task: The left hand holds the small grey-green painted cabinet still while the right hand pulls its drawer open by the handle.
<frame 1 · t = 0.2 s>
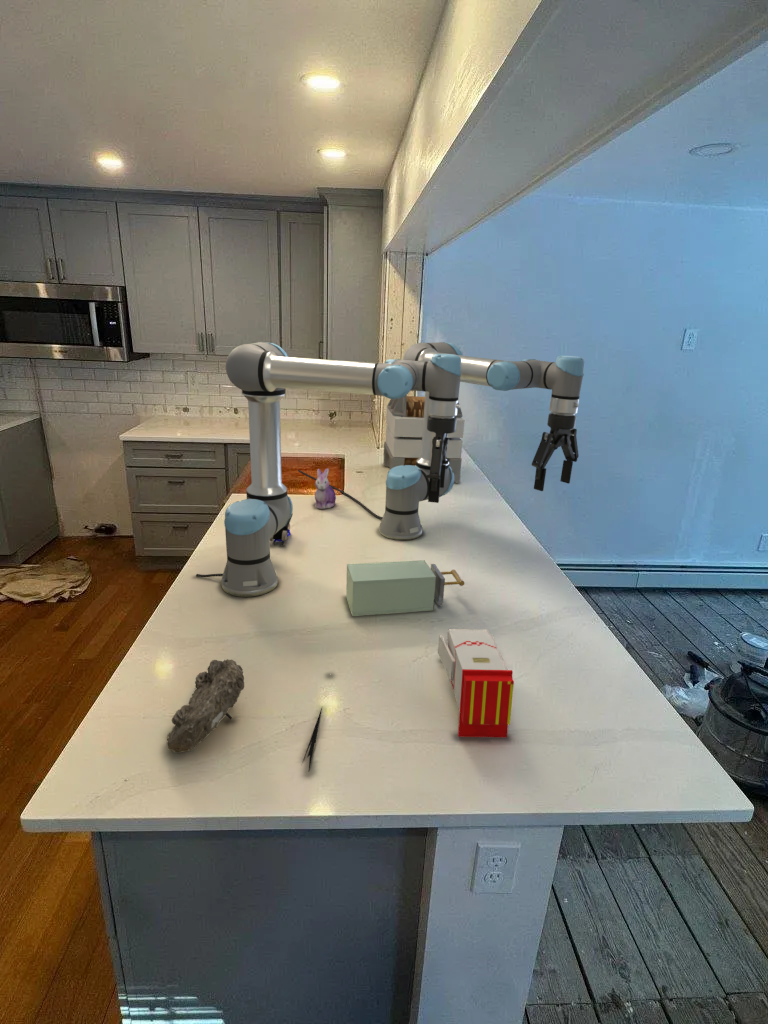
left hand: (436, 494, 154), 28 cm above the counter, tool pointing down, fingers open, 13 cm apart
right hand: (551, 486, 165), 28 cm above the counter, tool pointing down, fingers open, 13 cm apart
figurine: (324, 505, 224), on the counter
fossil: (212, 717, 108), on the counter
feather: (319, 719, 109), on the counter
toy: (469, 691, 119), on the counter
drawer: (413, 585, 152), point 5 cm above the counter, slide at 1.6 cm
transformer: (419, 473, 275), on the counter
cabinet: (388, 603, 152), on the counter
figurine character: (280, 539, 190), on the counter
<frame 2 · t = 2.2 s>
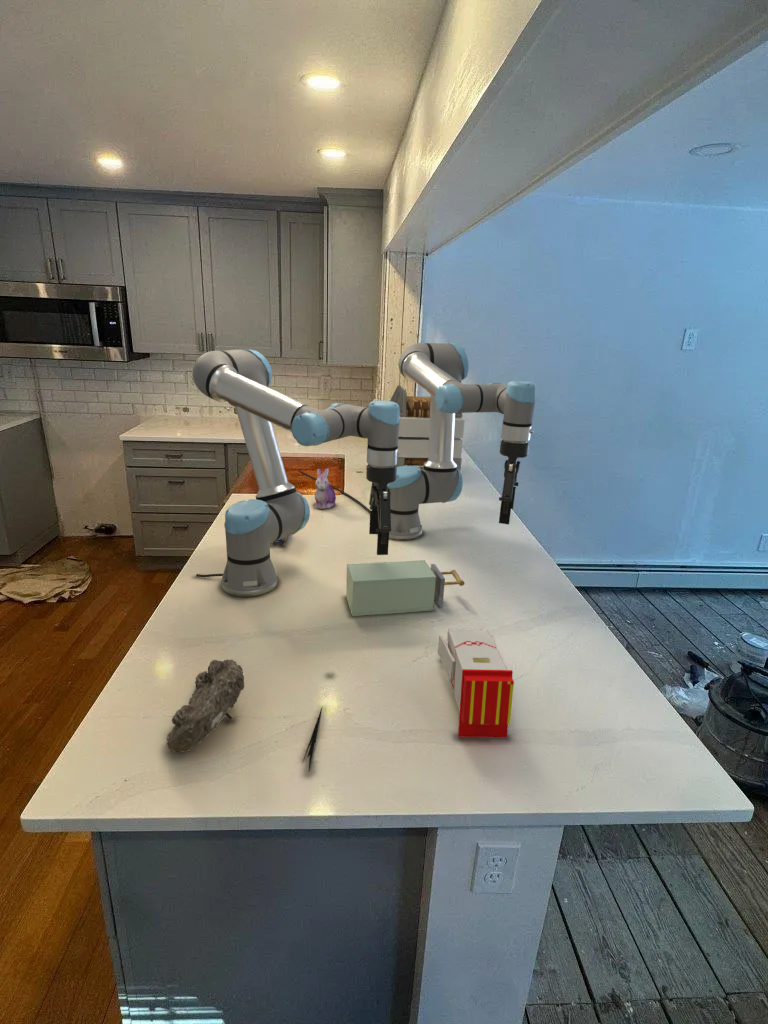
left hand: (378, 543, 148), 17 cm above the counter, tool pointing down, fingers open, 13 cm apart
right hand: (506, 515, 158), 22 cm above the counter, tool pointing down, fingers open, 13 cm apart
nothing on the counter moved.
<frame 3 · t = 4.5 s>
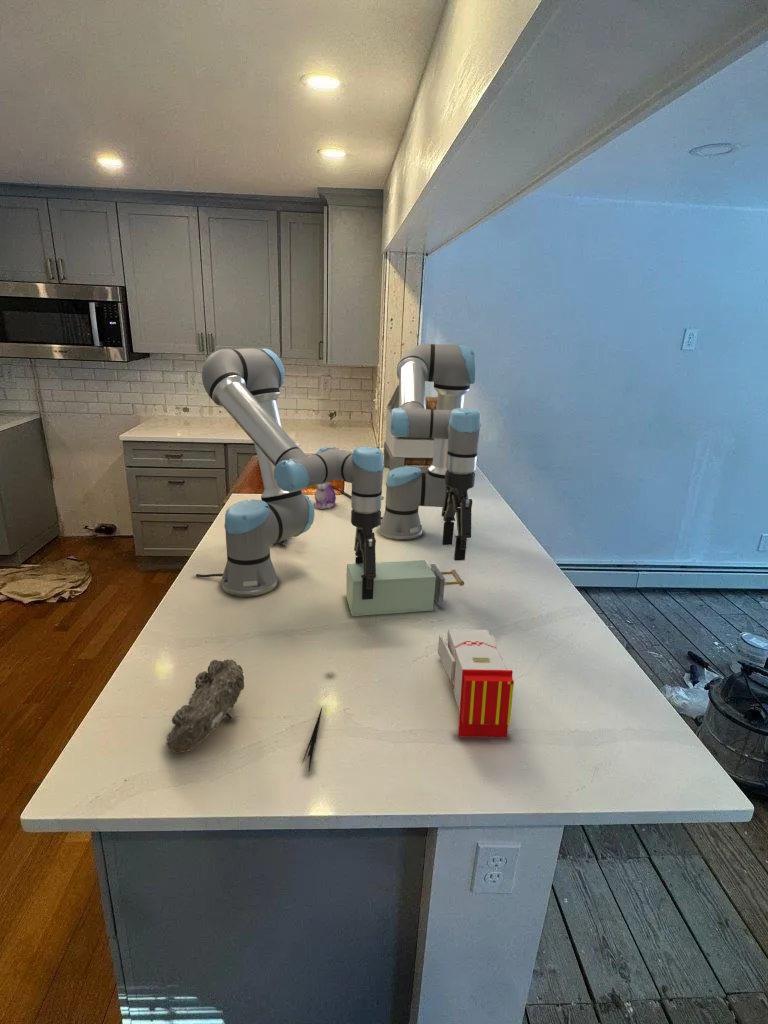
left hand: (363, 588, 149), 5 cm above the counter, tool pointing down, fingers closed on cabinet, 10 cm apart
right hand: (453, 551, 151), 14 cm above the counter, tool pointing down, fingers open, 9 cm apart
cabinet: (388, 603, 152), on the counter, touching left hand
everything else where it was.
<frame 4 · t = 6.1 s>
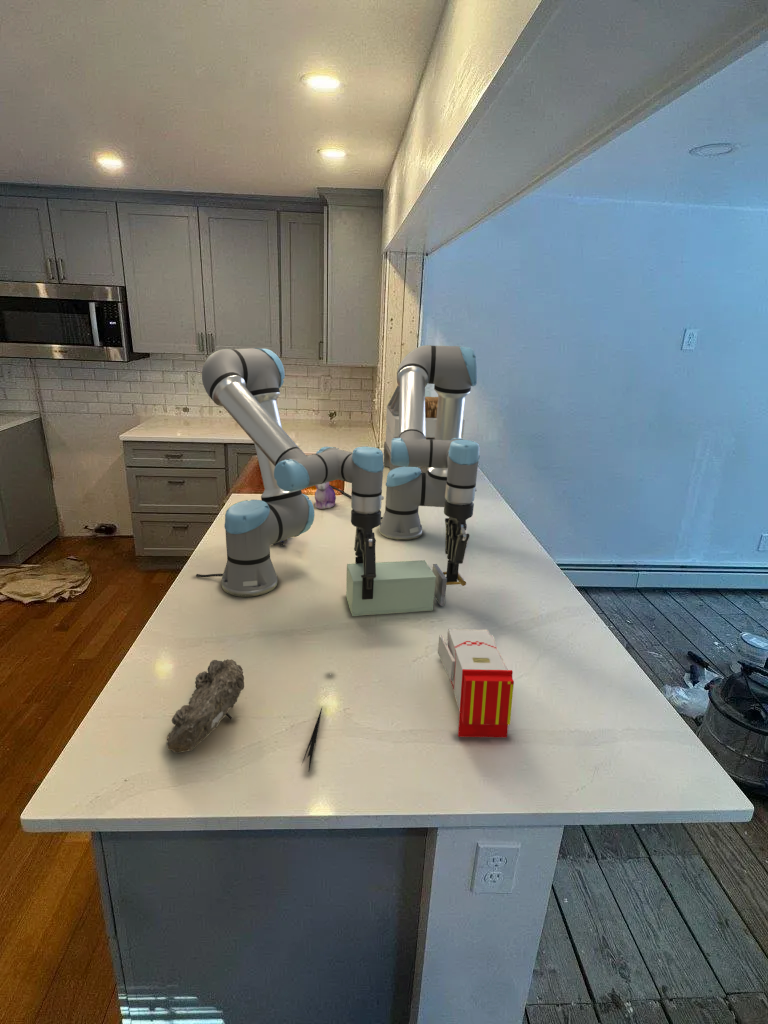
left hand: (363, 588, 149), 5 cm above the counter, tool pointing down, fingers closed on cabinet, 10 cm apart
right hand: (451, 582, 154), 5 cm above the counter, tool pointing down, fingers closed
drawer: (415, 585, 152), point 5 cm above the counter, slide at 2.1 cm, touching right hand
cabinet: (388, 603, 152), on the counter, touching left hand
everything else where it was.
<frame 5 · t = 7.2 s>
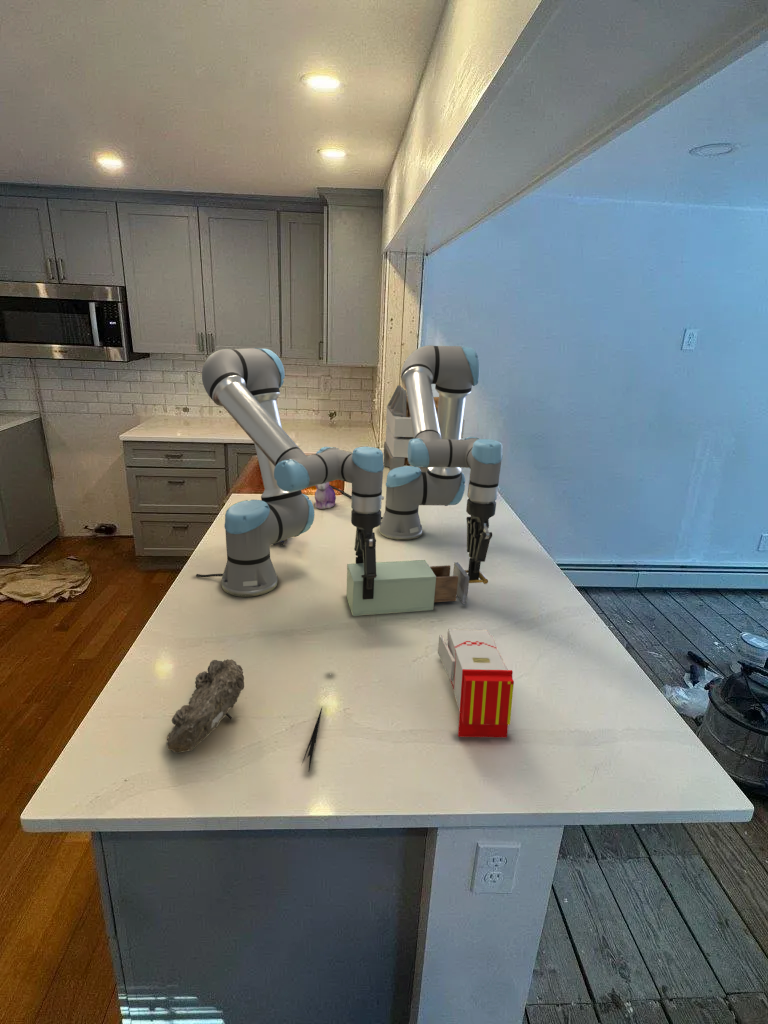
left hand: (364, 588, 149), 5 cm above the counter, tool pointing down, fingers closed on cabinet, 10 cm apart
right hand: (472, 580, 156), 5 cm above the counter, tool pointing down, fingers closed
drawer: (437, 583, 154), point 5 cm above the counter, slide at 8.3 cm, touching right hand
cabinet: (389, 603, 153), on the counter, touching left hand
everything else where it was.
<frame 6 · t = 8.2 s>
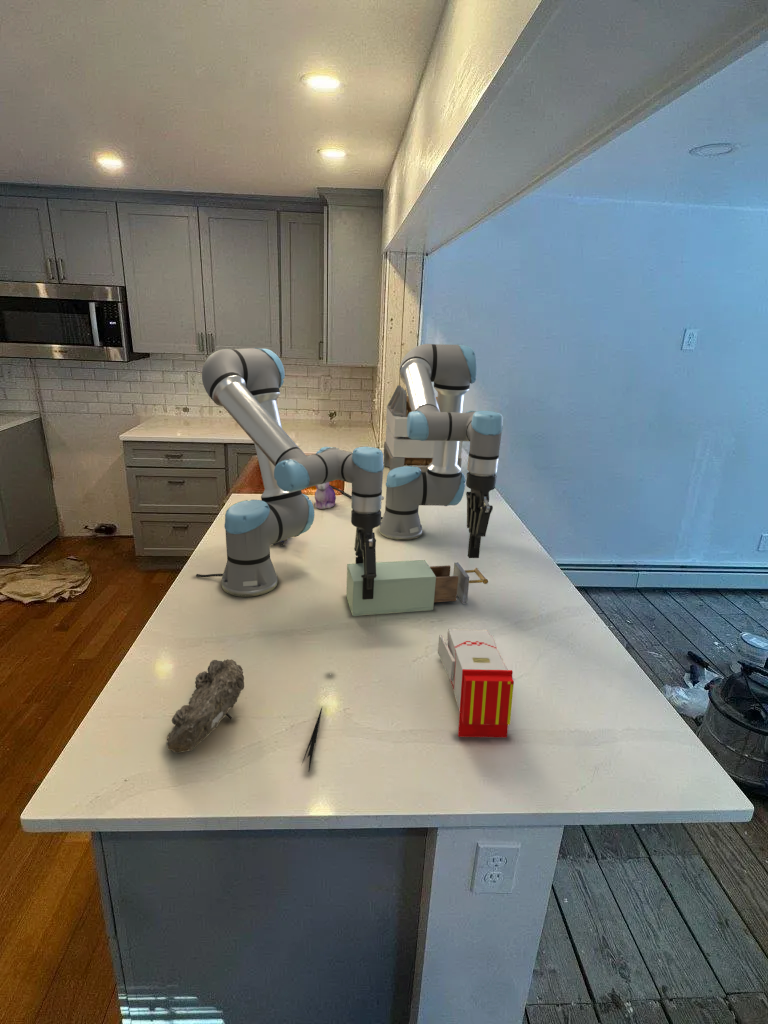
left hand: (363, 588, 149), 5 cm above the counter, tool pointing down, fingers closed on cabinet, 10 cm apart
right hand: (473, 556, 153), 13 cm above the counter, tool pointing down, fingers closed
drawer: (437, 584, 154), point 5 cm above the counter, slide at 8.3 cm
cabinet: (389, 603, 153), on the counter, touching left hand
everything else where it was.
when the left hand's fingers open (5 cm above the counter, at t = 8.8 s): cabinet stays where it is, on the counter.
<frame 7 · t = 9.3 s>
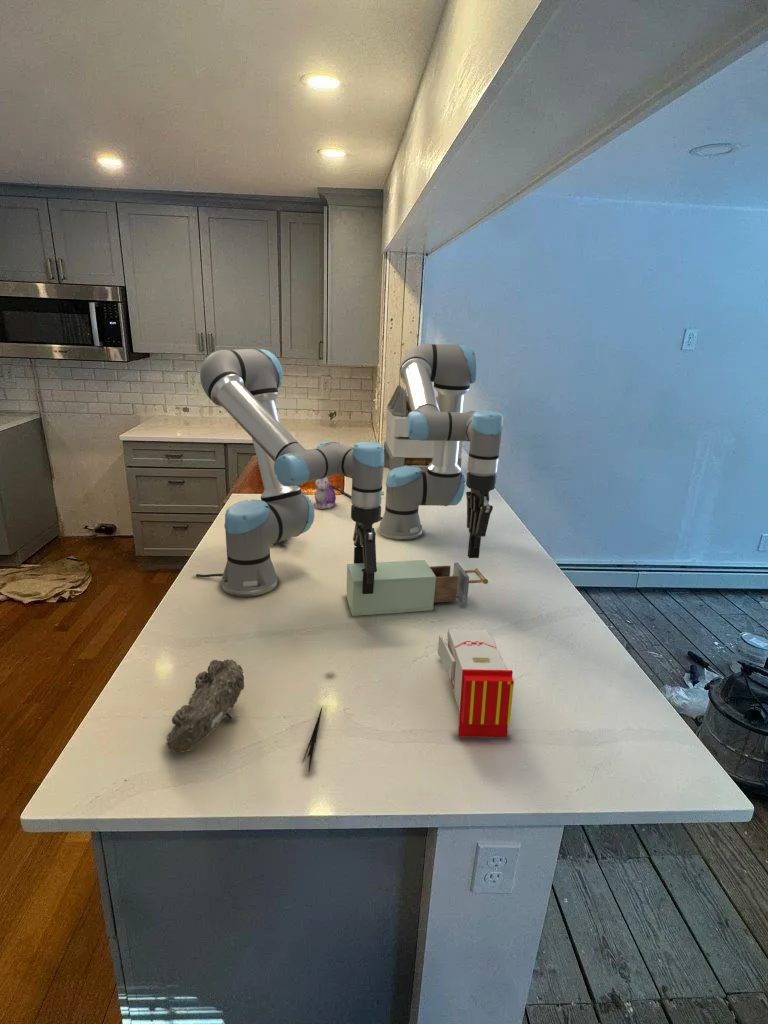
left hand: (363, 580, 149), 7 cm above the counter, tool pointing down, fingers open, 13 cm apart
right hand: (473, 556, 153), 13 cm above the counter, tool pointing down, fingers closed
cabinet: (389, 603, 153), on the counter
everything else where it was.
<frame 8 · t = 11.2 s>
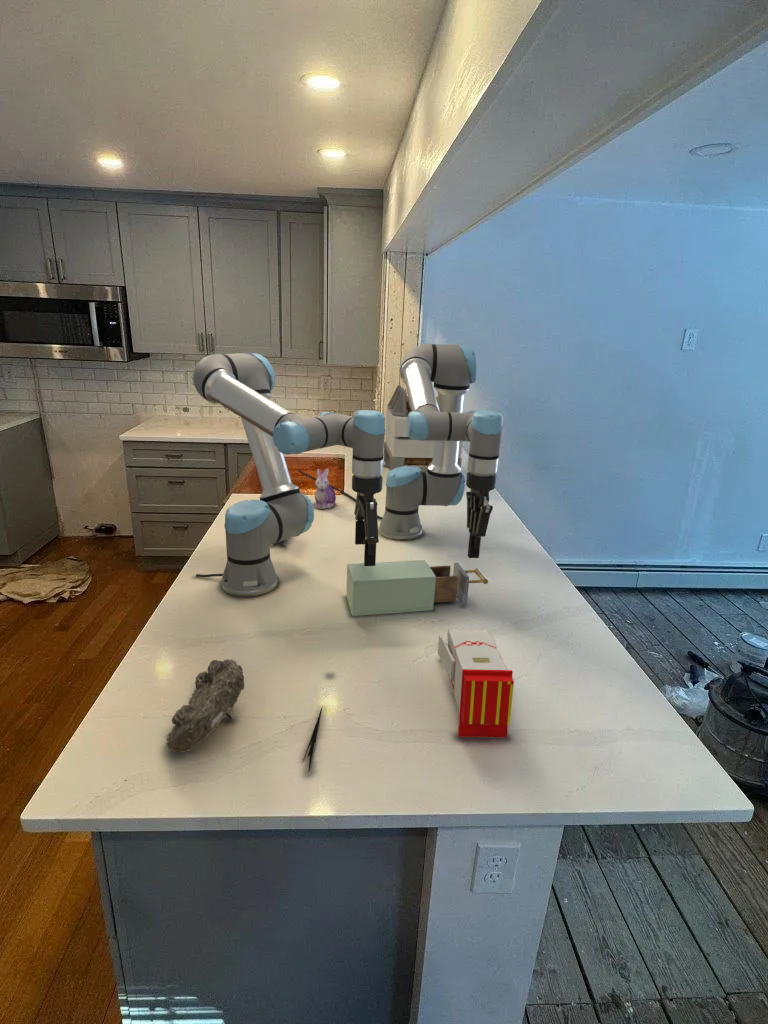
left hand: (364, 554, 146), 15 cm above the counter, tool pointing down, fingers open, 13 cm apart
right hand: (473, 556, 153), 13 cm above the counter, tool pointing down, fingers closed
nothing on the counter moved.
at the end: drawer slide at 8.3 cm; cabinet tilted 0°; cabinet never tilted more than 1° during the clip; cabinet moved 0.1 cm from its start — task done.
